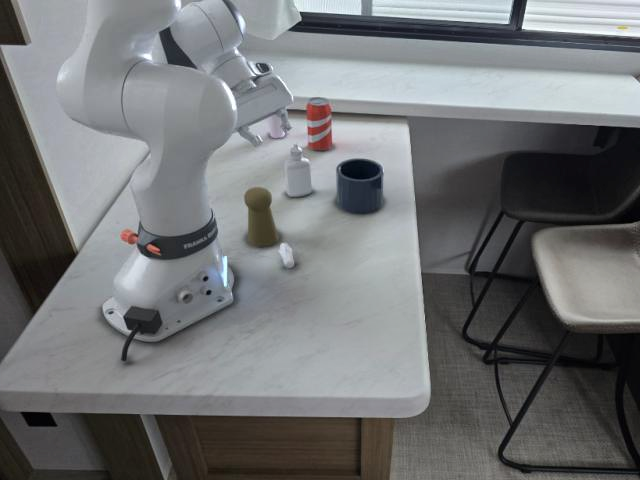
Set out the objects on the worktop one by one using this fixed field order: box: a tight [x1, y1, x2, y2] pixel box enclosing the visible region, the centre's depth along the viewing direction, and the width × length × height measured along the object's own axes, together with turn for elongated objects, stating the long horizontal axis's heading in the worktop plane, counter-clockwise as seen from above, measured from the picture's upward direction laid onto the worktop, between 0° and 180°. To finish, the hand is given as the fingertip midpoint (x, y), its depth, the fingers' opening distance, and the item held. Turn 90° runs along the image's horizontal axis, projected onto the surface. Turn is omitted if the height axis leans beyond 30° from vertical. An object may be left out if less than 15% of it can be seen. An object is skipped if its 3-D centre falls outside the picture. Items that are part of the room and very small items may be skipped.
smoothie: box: [265, 114, 286, 139], centre depth 143 cm, size 6×6×14 cm
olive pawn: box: [243, 186, 279, 248], centre depth 109 cm, size 6×6×11 cm
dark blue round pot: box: [335, 157, 385, 215], centre depth 122 cm, size 10×10×8 cm
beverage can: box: [305, 96, 333, 152], centre depth 140 cm, size 6×6×12 cm
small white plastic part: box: [278, 242, 295, 269], centre depth 106 cm, size 4×6×3 cm, turn 175°
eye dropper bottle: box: [283, 142, 313, 198], centre depth 122 cm, size 4×6×12 cm
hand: (274, 137), depth 121 cm, fingers open, 8 cm apart
